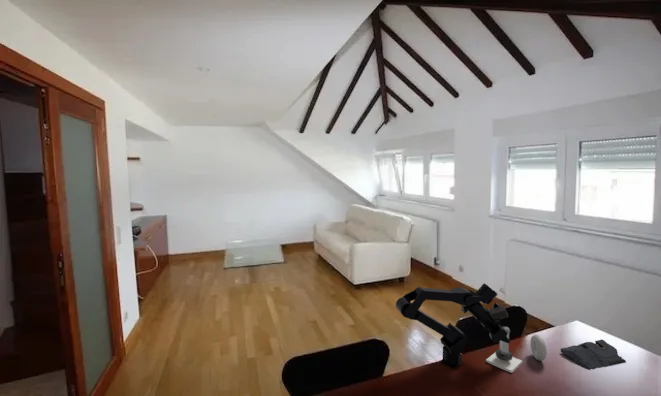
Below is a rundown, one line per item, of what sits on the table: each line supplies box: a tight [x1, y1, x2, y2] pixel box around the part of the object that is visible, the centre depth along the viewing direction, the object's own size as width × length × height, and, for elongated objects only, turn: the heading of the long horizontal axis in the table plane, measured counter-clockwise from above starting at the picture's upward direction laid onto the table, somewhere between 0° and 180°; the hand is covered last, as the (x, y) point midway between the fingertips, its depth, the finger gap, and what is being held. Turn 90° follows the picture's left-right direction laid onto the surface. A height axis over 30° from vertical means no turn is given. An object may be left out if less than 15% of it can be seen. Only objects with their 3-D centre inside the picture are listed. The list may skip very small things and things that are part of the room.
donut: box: [529, 334, 548, 361], centre depth 136 cm, size 10×3×10 cm, turn 168°
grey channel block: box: [495, 326, 513, 361], centre depth 134 cm, size 6×6×12 cm
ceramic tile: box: [485, 351, 523, 374], centre depth 135 cm, size 10×10×1 cm
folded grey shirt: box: [560, 339, 627, 371], centre depth 138 cm, size 15×22×5 cm
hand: (507, 340), depth 133 cm, fingers closed on grey channel block, 2 cm apart
